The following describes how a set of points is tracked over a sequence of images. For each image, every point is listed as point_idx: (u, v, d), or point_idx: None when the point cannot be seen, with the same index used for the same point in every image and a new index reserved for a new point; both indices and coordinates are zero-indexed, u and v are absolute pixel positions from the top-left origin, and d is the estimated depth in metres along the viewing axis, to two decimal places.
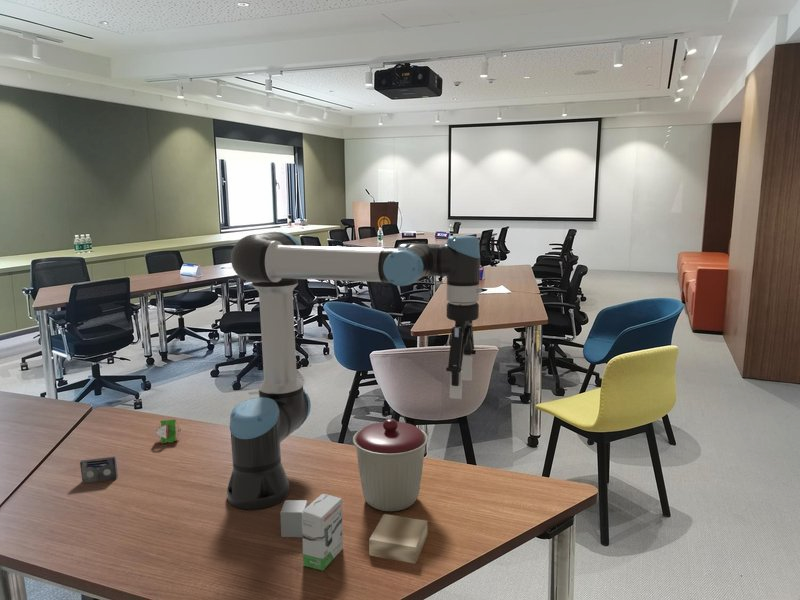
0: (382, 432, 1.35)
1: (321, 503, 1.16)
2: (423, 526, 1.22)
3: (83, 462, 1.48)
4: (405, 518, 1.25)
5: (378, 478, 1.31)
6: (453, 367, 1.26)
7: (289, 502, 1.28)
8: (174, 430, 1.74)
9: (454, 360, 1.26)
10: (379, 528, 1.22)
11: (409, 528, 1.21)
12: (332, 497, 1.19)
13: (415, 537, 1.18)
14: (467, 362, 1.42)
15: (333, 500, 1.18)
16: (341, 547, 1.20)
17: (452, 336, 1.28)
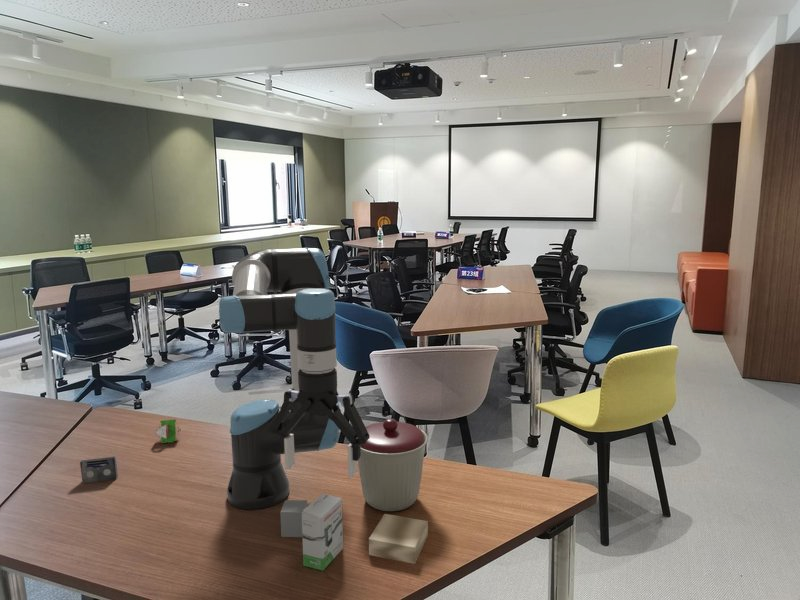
0: (382, 432, 1.35)
1: (321, 503, 1.16)
2: (423, 526, 1.22)
3: (83, 462, 1.48)
4: (405, 518, 1.25)
5: (378, 478, 1.31)
6: None
7: (289, 502, 1.28)
8: (174, 430, 1.74)
9: None
10: (379, 527, 1.22)
11: (410, 528, 1.21)
12: (333, 497, 1.19)
13: (415, 537, 1.18)
14: None
15: (333, 500, 1.18)
16: (341, 547, 1.20)
17: None
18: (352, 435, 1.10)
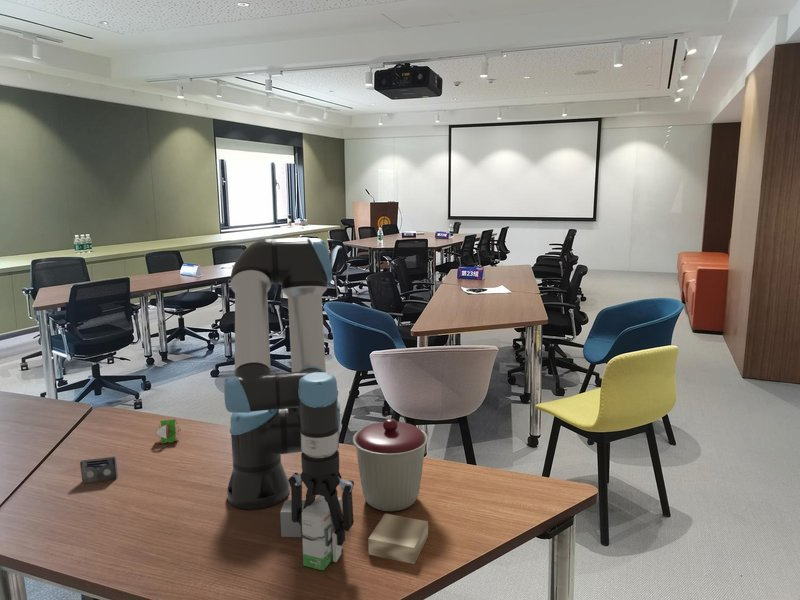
0: (382, 432, 1.35)
1: (321, 503, 1.16)
2: (423, 527, 1.22)
3: (83, 462, 1.48)
4: (406, 518, 1.25)
5: (378, 478, 1.31)
6: None
7: (289, 502, 1.28)
8: (174, 430, 1.74)
9: None
10: (379, 527, 1.22)
11: (410, 528, 1.21)
12: None
13: (414, 537, 1.18)
14: None
15: None
16: (341, 547, 1.20)
17: None
18: (339, 522, 1.14)
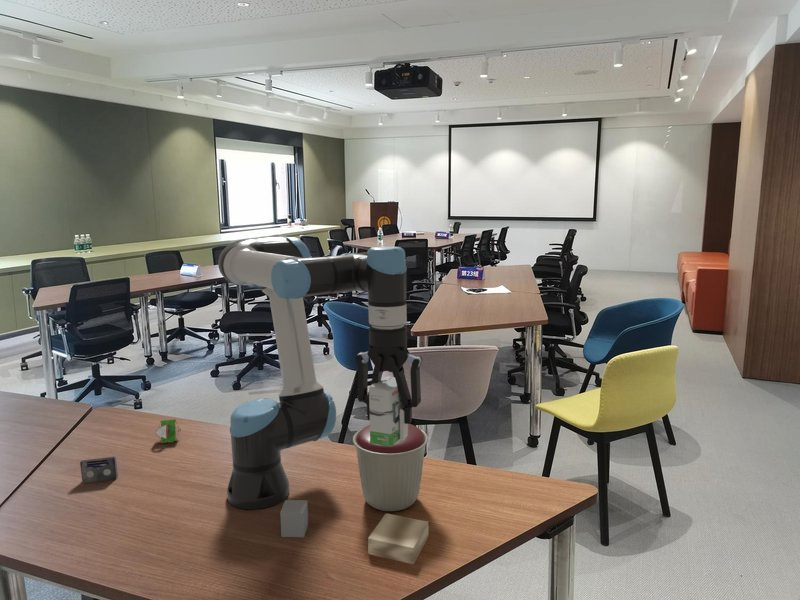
0: None
1: (387, 382, 1.15)
2: (423, 527, 1.22)
3: (83, 462, 1.48)
4: (406, 518, 1.25)
5: (378, 478, 1.31)
6: None
7: (289, 502, 1.28)
8: (174, 430, 1.74)
9: None
10: (379, 527, 1.22)
11: (410, 528, 1.21)
12: None
13: (414, 538, 1.18)
14: None
15: None
16: None
17: None
18: (407, 399, 1.13)
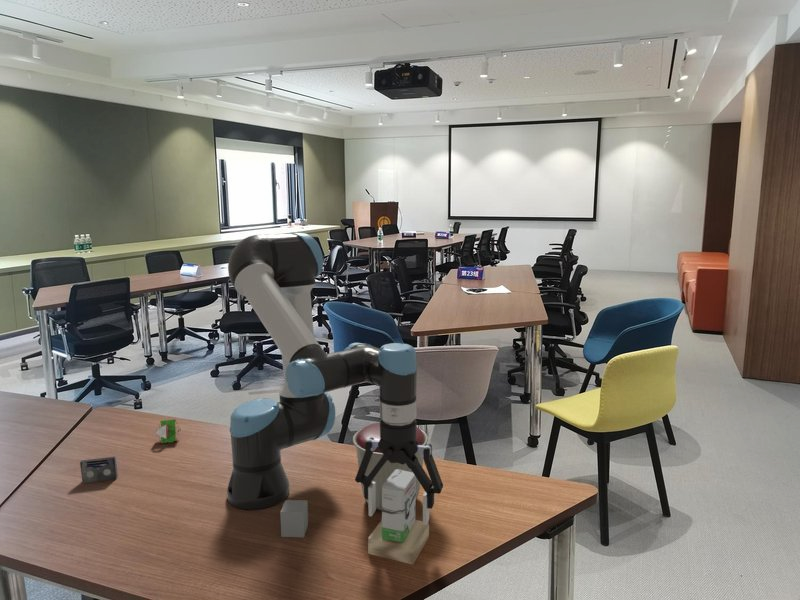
0: None
1: (398, 478, 1.19)
2: (424, 528, 1.22)
3: (83, 462, 1.48)
4: None
5: (378, 478, 1.31)
6: None
7: (289, 502, 1.28)
8: (174, 430, 1.74)
9: None
10: (379, 527, 1.22)
11: None
12: (407, 472, 1.22)
13: (414, 538, 1.18)
14: None
15: (408, 475, 1.21)
16: (414, 521, 1.23)
17: None
18: (428, 485, 1.16)
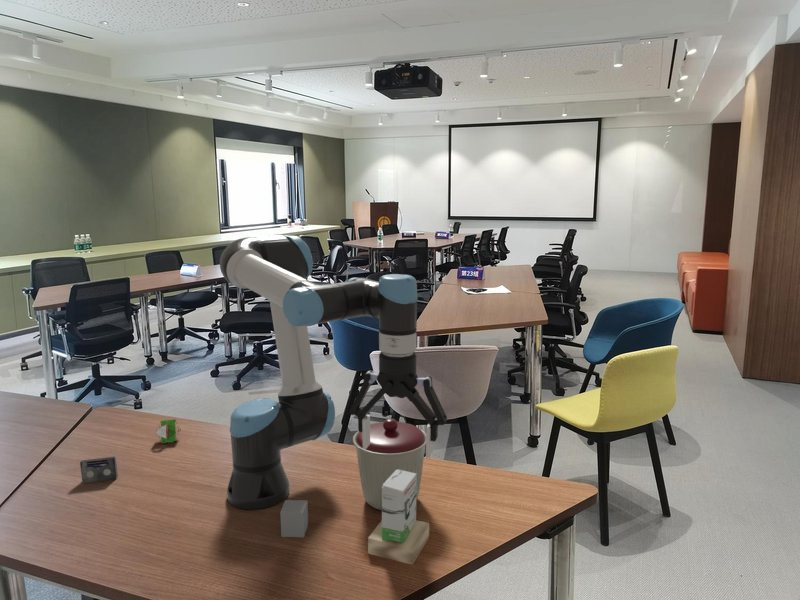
0: (382, 432, 1.35)
1: (398, 478, 1.19)
2: (424, 528, 1.22)
3: (83, 462, 1.48)
4: None
5: (378, 478, 1.31)
6: None
7: (289, 502, 1.28)
8: (174, 430, 1.74)
9: None
10: (379, 527, 1.22)
11: None
12: (407, 472, 1.22)
13: (414, 539, 1.18)
14: None
15: (409, 475, 1.21)
16: (415, 521, 1.23)
17: None
18: (431, 416, 1.14)
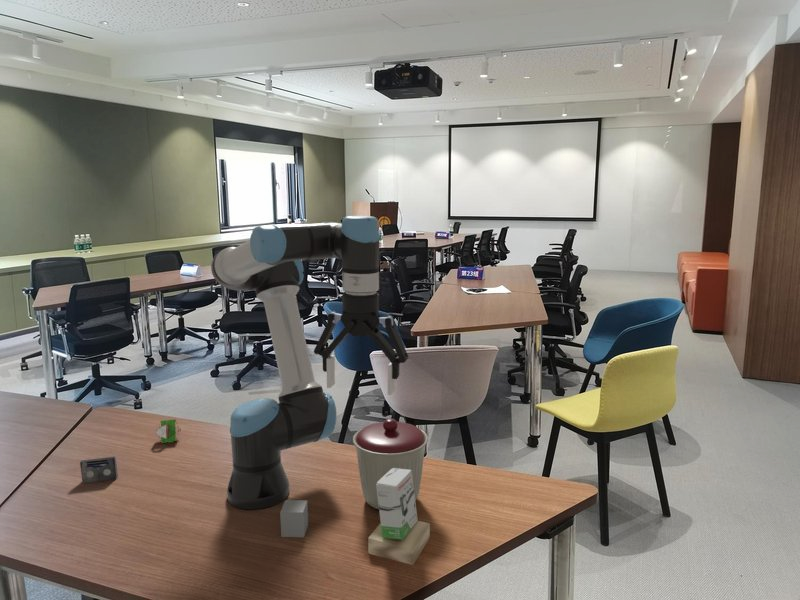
0: (382, 432, 1.35)
1: (393, 475, 1.20)
2: (424, 528, 1.21)
3: (83, 462, 1.48)
4: None
5: (378, 478, 1.31)
6: None
7: (289, 502, 1.28)
8: (174, 430, 1.74)
9: None
10: (380, 527, 1.22)
11: (410, 529, 1.21)
12: (402, 469, 1.23)
13: (414, 539, 1.18)
14: None
15: (404, 472, 1.22)
16: (416, 519, 1.23)
17: None
18: (392, 354, 1.17)
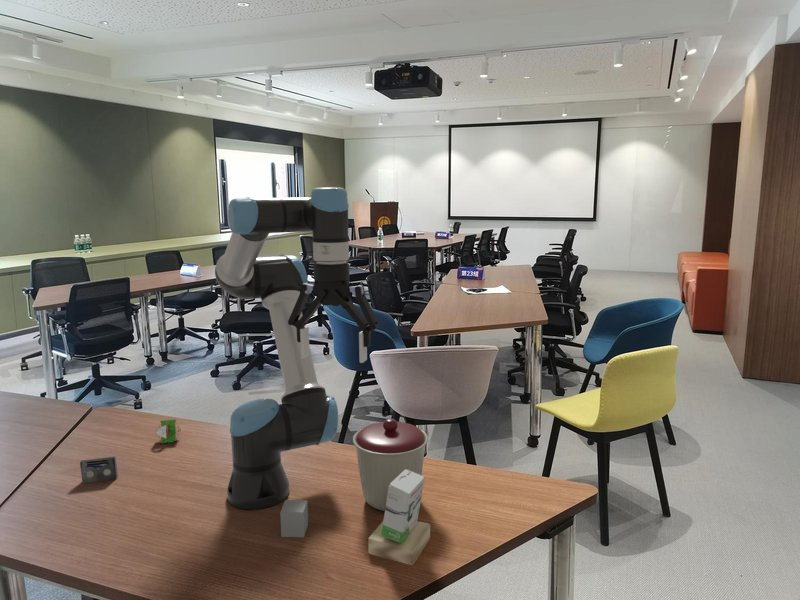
0: (382, 432, 1.35)
1: (406, 479, 1.18)
2: (425, 529, 1.21)
3: (83, 462, 1.48)
4: None
5: (378, 478, 1.31)
6: None
7: (289, 502, 1.28)
8: (174, 430, 1.74)
9: None
10: (380, 528, 1.22)
11: None
12: (416, 474, 1.21)
13: (414, 539, 1.18)
14: None
15: (417, 477, 1.20)
16: (416, 523, 1.23)
17: None
18: (363, 322, 1.19)
